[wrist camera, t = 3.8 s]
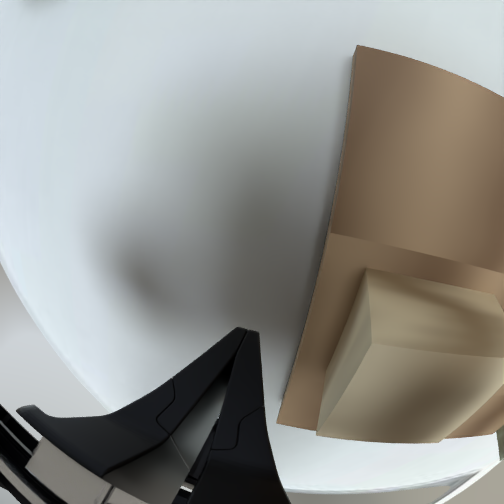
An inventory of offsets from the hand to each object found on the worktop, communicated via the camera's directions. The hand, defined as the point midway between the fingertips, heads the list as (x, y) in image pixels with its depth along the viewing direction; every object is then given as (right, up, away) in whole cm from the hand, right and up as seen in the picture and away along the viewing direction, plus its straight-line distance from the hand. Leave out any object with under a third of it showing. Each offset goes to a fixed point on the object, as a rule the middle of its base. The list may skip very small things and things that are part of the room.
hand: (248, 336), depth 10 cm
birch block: (+7, -1, 0) cm, 7 cm away
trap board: (+12, -1, +1) cm, 12 cm away
